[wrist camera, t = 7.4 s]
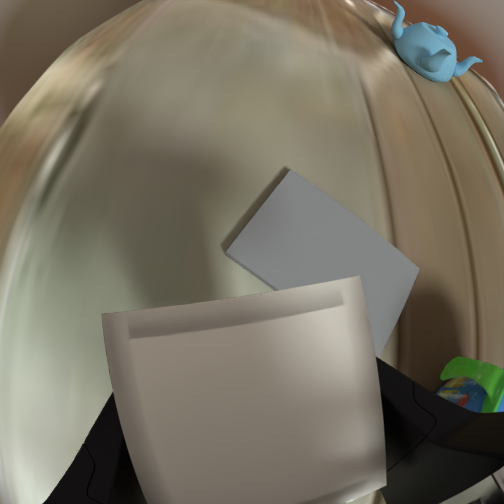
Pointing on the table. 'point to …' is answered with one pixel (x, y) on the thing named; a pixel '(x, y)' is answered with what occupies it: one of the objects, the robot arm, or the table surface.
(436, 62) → the teapot
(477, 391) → the snack cup
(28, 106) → the table surface
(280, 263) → the mat
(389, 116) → the table surface
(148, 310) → the cover
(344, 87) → the table surface
